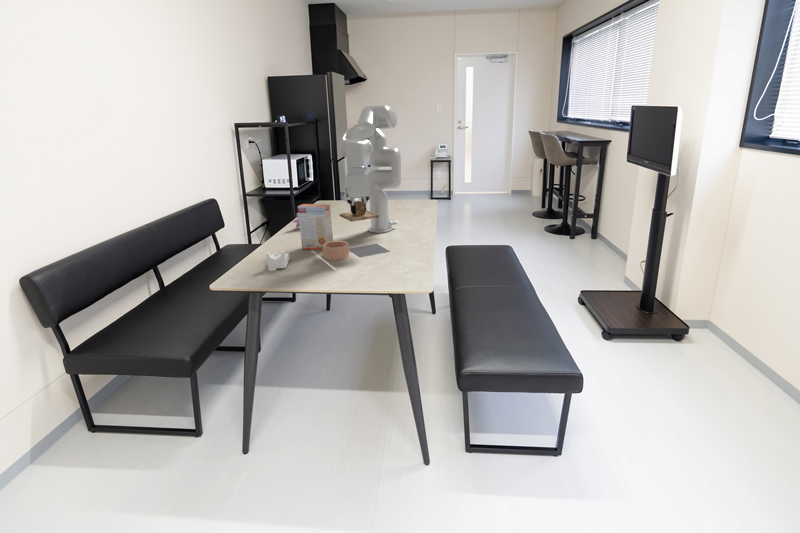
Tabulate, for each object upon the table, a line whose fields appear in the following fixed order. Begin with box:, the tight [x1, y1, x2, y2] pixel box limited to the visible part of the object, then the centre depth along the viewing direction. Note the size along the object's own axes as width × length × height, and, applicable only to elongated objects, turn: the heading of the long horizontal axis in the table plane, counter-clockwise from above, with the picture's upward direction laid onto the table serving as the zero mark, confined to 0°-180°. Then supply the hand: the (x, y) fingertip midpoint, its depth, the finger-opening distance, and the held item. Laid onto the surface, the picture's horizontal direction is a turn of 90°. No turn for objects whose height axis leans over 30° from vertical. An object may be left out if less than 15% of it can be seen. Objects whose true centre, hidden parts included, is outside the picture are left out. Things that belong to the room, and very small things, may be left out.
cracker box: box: [297, 203, 334, 251], centre depth 217 cm, size 14×6×21 cm, turn 71°
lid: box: [339, 200, 379, 223], centre depth 205 cm, size 13×13×6 cm
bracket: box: [265, 250, 291, 271], centre depth 199 cm, size 13×7×8 cm, turn 5°
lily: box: [291, 212, 300, 229], centre depth 256 cm, size 12×12×10 cm
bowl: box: [322, 240, 350, 261], centre depth 205 cm, size 11×11×6 cm
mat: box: [349, 243, 391, 258], centre depth 213 cm, size 15×15×1 cm
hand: (358, 212), depth 205 cm, fingers closed on lid, 4 cm apart
